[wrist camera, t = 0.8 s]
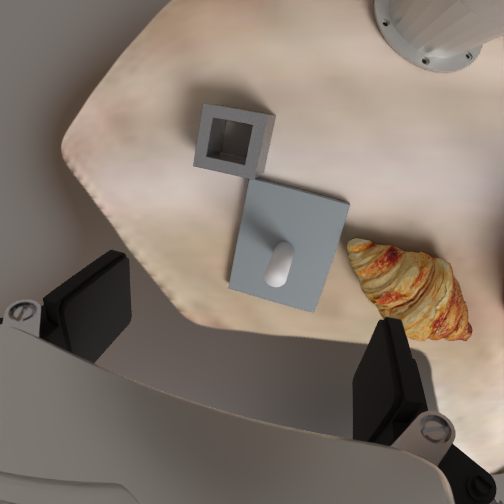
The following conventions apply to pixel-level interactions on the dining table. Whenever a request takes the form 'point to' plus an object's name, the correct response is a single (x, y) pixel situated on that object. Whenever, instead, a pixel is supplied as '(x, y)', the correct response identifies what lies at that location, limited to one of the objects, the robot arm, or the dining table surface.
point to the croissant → (411, 290)
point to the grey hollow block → (212, 138)
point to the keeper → (286, 243)
